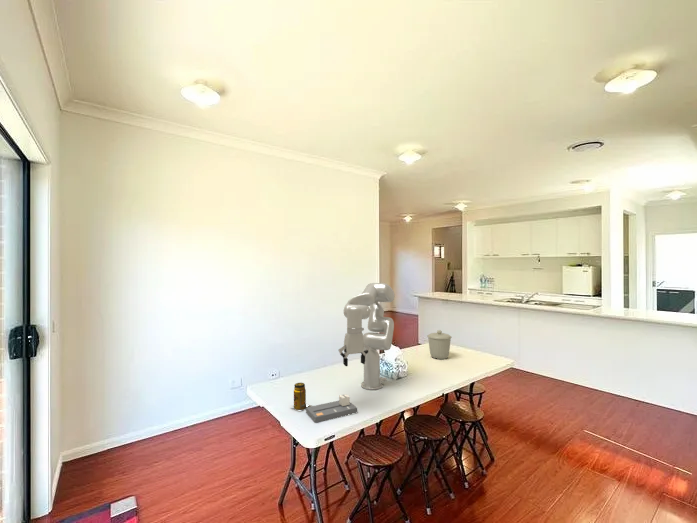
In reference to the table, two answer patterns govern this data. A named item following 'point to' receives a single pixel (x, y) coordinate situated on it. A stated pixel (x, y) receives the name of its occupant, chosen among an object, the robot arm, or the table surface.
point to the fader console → (329, 411)
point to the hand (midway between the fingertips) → (354, 364)
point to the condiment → (300, 396)
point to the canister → (439, 344)
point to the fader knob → (344, 400)
